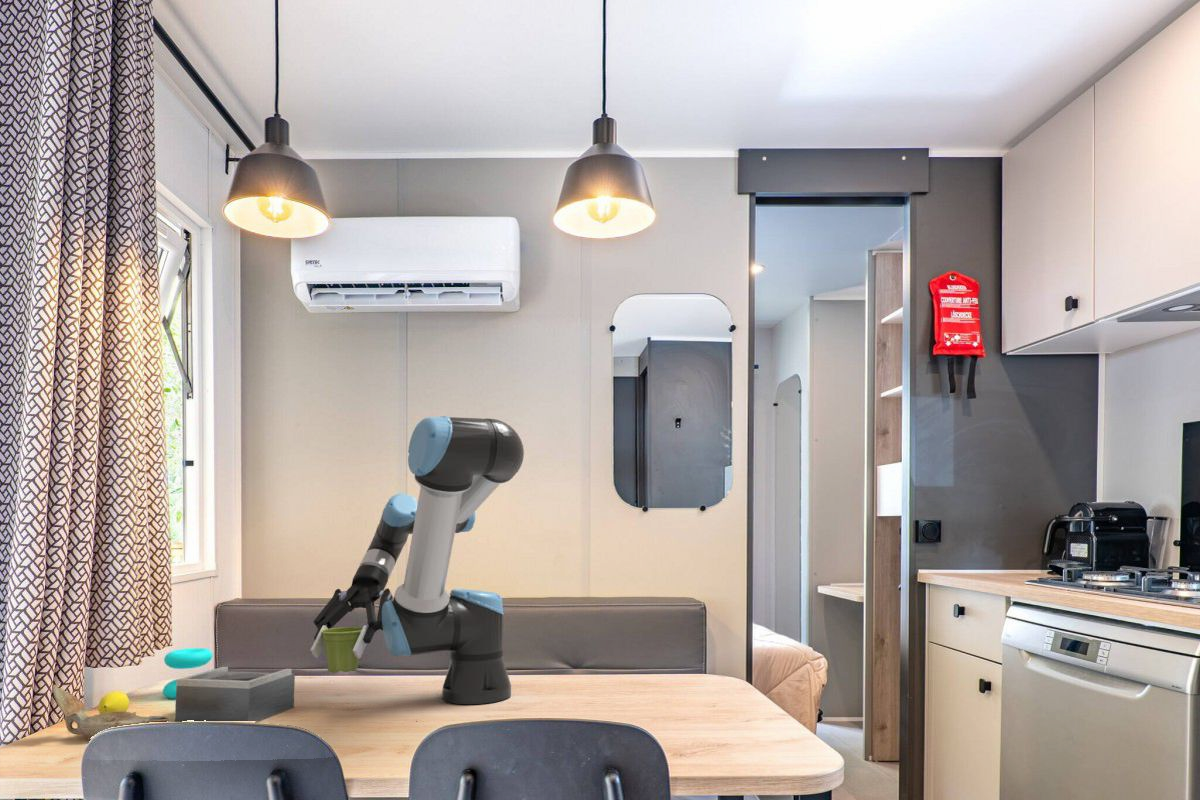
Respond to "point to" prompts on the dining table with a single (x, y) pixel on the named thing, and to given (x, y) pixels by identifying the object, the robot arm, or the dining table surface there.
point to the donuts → (184, 664)
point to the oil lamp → (95, 716)
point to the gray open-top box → (234, 695)
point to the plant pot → (341, 648)
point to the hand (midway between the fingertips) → (335, 654)
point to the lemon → (114, 702)
